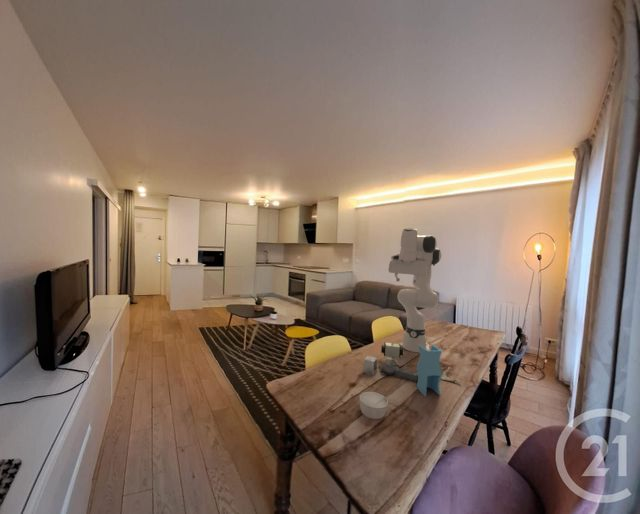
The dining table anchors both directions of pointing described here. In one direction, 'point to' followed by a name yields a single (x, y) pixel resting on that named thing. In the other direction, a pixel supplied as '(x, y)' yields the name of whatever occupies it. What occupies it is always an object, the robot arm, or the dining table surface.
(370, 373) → the beige rectangular block
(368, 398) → the ramekin
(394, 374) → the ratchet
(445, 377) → the jawbone
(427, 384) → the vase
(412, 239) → the robot arm
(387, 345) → the pneumatic valve
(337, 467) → the dining table surface
